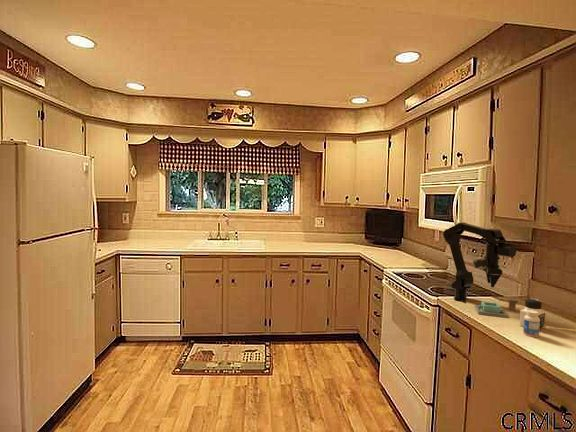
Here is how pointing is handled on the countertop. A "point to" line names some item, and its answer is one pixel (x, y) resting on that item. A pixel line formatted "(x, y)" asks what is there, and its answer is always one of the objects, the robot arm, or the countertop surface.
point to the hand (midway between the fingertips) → (490, 285)
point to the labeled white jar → (535, 306)
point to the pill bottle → (531, 324)
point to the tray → (491, 313)
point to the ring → (490, 307)
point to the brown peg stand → (512, 307)
